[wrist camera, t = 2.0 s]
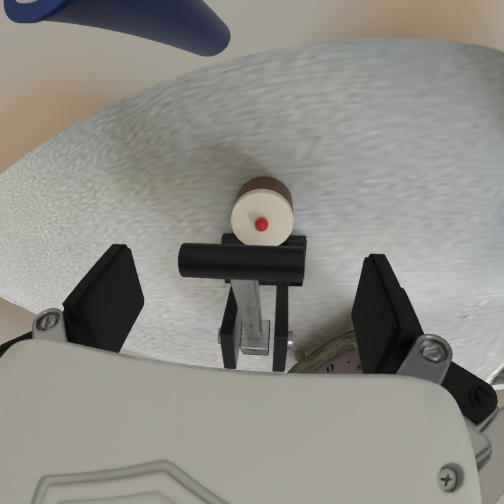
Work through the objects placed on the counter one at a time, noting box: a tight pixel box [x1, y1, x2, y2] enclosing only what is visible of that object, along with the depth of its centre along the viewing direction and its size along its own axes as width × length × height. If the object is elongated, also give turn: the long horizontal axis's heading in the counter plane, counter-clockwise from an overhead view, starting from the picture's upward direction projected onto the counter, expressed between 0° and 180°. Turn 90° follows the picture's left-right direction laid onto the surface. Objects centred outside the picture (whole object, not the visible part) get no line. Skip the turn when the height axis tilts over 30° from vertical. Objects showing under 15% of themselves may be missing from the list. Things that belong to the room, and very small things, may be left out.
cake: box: [231, 177, 294, 246], centre depth 27 cm, size 6×6×6 cm
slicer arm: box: [178, 243, 305, 356], centre depth 18 cm, size 15×5×2 cm, turn 1°
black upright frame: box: [218, 234, 307, 372], centre depth 28 cm, size 6×9×14 cm, turn 91°
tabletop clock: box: [288, 330, 363, 374], centre depth 29 cm, size 14×9×25 cm, turn 140°
